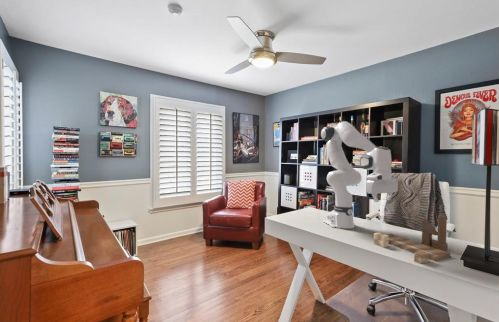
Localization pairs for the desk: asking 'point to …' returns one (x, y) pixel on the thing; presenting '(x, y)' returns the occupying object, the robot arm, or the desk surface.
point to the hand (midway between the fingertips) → (382, 201)
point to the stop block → (421, 257)
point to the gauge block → (381, 239)
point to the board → (417, 247)
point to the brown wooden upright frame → (435, 233)
